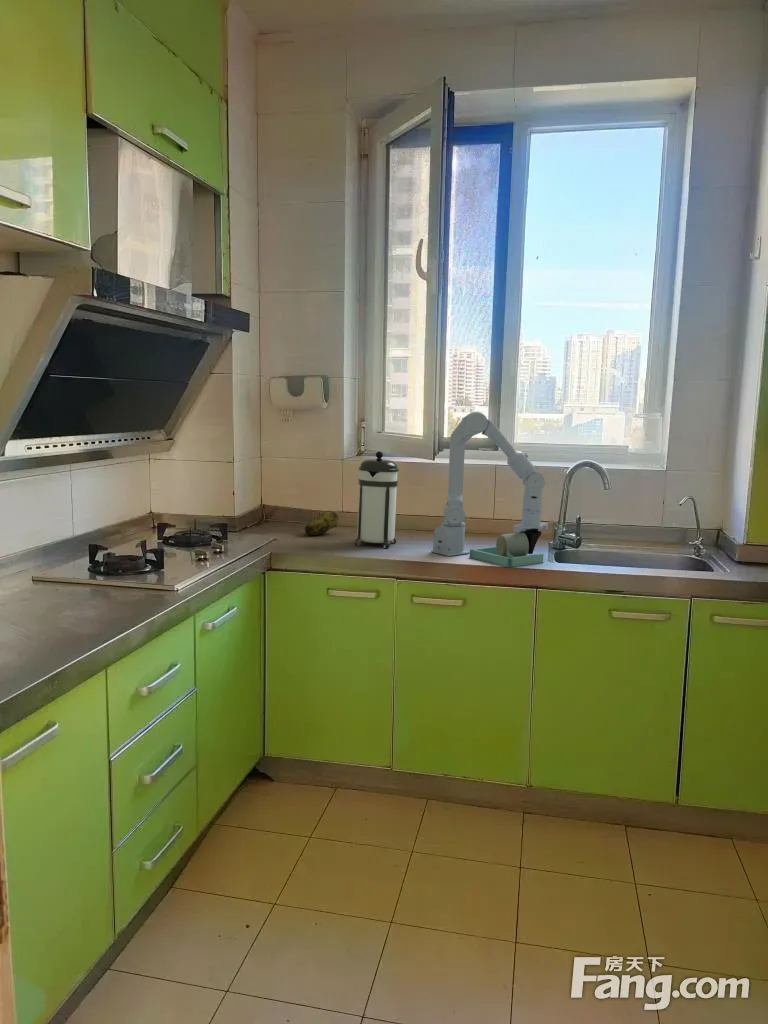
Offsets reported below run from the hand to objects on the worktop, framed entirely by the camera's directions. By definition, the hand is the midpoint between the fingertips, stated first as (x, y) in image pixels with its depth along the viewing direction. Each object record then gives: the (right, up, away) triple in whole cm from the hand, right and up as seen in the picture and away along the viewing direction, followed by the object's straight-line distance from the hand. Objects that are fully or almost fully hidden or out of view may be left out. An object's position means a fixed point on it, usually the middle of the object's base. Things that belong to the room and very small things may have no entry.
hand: (528, 553), depth 239 cm
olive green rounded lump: (-66, +5, +23) cm, 71 cm away
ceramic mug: (-5, -2, -4) cm, 7 cm away
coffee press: (-48, +2, +11) cm, 49 cm away
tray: (-8, -2, -7) cm, 11 cm away
